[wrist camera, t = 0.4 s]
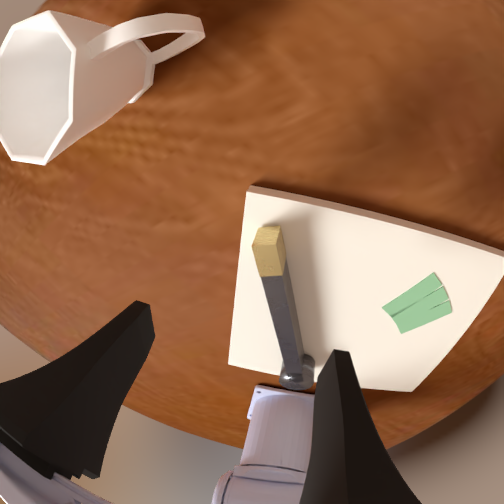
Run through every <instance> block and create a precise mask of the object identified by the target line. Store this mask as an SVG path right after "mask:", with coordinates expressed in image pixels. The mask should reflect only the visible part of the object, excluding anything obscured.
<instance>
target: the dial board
mask: <svg viewBox="0 0 504 504" xmlns="http://www.w3.org/2000/svg"><path fill="white" fill-rule="evenodd" d="M279 225H280V226H281V230H282V235H283V240H284V245H285V250H286V259H287V264H288V269H289V274H290V279H291V284H292V289H293V294H294V300H295V305H296V310H297V316H298V321H299V327H300V332H301V338H302V343H303V349H304V354H307V355H309V356H311V357H312V358H313V359H314V360H315V372H314V382H317V378H318V375H319V374H320V372H321V370H322V368H323V367H324V365H325V363H326V362H327V360H328V358H329V356H330V355H331V353H332V351H333V349H337V350H343V351H349V353H350V355H351V358H352V362H353V365H354V368H355V372H356V375H357V378H358V381H359V384H360V388H368V389H378V390H391V391H406V392H412V391H413V390H414V389H415V388H416V387H417V386H418V385H419V384H420V383H421V382H422V381H423V380H424V379H425V378H426V377H427V376H428V375H429V374H430V373H431V371H432V370H433V369H434V368H435V367H436V366H437V365H438V364H439V363H440V362H441V360H442V359H443V358H444V357H445V356H446V355H447V353H448V352H449V351H450V350H451V349H452V347H453V346H454V345H455V344H456V343H457V341H458V340H459V339H460V338H461V336H462V335H463V334H464V332H465V331H466V330H467V329H468V327H469V326H470V325H471V323H472V322H473V320H474V319H475V318H476V316H477V315H478V314H479V312H480V311H481V309H482V308H483V306H484V305H485V303H486V302H487V301H488V299H489V297H490V296H491V294H492V293H493V291H494V290H495V288H496V287H497V285H498V283H499V282H500V280H501V278H502V277H503V275H504V251H502V250H499V249H496V248H493V247H490V246H488V245H485V244H482V243H479V242H476V241H473V240H470V239H467V238H463V237H460V236H457V235H454V234H451V233H448V232H444V231H441V230H438V229H434V228H431V227H428V226H424V225H421V224H417V223H414V222H410V221H407V220H403V219H399V218H396V217H392V216H388V215H384V214H380V213H377V212H373V211H369V210H365V209H361V208H356V207H352V206H348V205H344V204H340V203H335V202H331V201H326V200H322V199H317V198H313V197H308V196H303V195H299V194H294V193H289V192H284V191H279V190H274V189H268V188H263V187H258V186H252V185H250V186H249V188H248V190H247V192H246V201H245V210H244V219H243V228H242V237H241V246H240V255H239V264H238V273H237V283H236V292H235V302H234V311H233V321H232V331H231V341H230V351H229V361H228V364H229V365H234V366H238V367H242V368H246V369H251V370H255V371H260V372H265V373H270V374H275V375H280V372H281V366H282V360H283V358H282V354H281V351H280V347H279V343H278V339H277V336H276V332H275V328H274V325H273V321H272V317H271V314H270V310H269V306H268V303H267V299H266V295H265V291H264V288H263V284H262V280H261V277H260V276H259V273H258V269H257V265H256V262H255V258H254V254H253V251H252V247H251V246H252V243H253V241H254V238H255V235H256V232H257V230H258V228H260V227H269V226H279Z"/></svg>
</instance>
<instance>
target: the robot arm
mask: <svg viewBox="0 0 504 504" xmlns="http://www.w3.org/2000/svg"><path fill="white" fill-rule="evenodd" d="M154 338H155V332H154V327H153V321H152V316H151V310H150V304H146V303H143V302H140V301H137V300H136V301H135V302H133V303H132V304H131V305H130V306H128V307H127V308H126V309H125V310H123V311H122V312H121V313H120V314H119V315H117V316H116V317H115V318H114V319H112V320H111V321H110V322H109V323H108V324H106V325H105V326H104V327H102V328H101V329H100V330H99V331H97V332H96V333H95V334H93V335H92V336H91V337H89V338H88V339H87V340H85V341H84V342H82V343H81V344H80V345H78V346H77V347H75V348H74V349H72V350H71V351H69V352H68V353H66V354H65V355H63V356H61V357H60V358H58V359H56V360H54V361H53V362H51V363H49V364H47V365H45V366H43V367H41V368H39V369H37V370H35V371H33V372H30V373H28V374H25V375H23V376H21V377H18V378H16V379H13V380H9V381H6V382H3V383H0V497H2V499H3V500H4V501H5V502H6V503H7V504H81V503H82V504H113V503H111V502H109V501H107V500H105V499H103V498H101V497H99V496H97V495H95V494H93V493H91V492H90V491H88V490H86V489H84V488H82V487H81V486H79V485H77V484H75V483H74V482H72V481H70V479H71V477H72V475H73V476H75V477H76V478H78V479H79V478H80V477H81V475H82V474H84V475H85V476H87V477H89V478H91V479H95V478H98V477H100V472H101V467H102V463H103V458H104V455H105V451H106V448H107V444H108V441H109V437H110V435H111V432H112V429H113V426H114V423H115V420H116V418H117V415H118V412H119V410H120V407H121V405H122V403H123V401H124V399H125V397H126V395H127V393H128V391H129V389H130V388H131V386H132V384H133V382H134V380H135V378H136V377H137V375H138V373H139V371H140V369H141V367H142V366H143V364H144V362H145V360H146V358H147V356H148V354H149V351H150V349H151V346H152V344H153V341H154ZM247 418H248V419H251V421H250V425H249V429H248V433H247V437H246V441H245V445H244V449H243V453H242V457H241V461H240V465H235V467H234V471H228V472H227V473H225V474H224V475H222V476H221V478H220V479H219V481H218V483H217V485H216V488H215V491H214V494H213V499H212V504H422V503H421V502H420V501H419V500H418V499H417V497H416V496H415V495H414V493H413V492H412V491H411V489H410V488H409V487H408V485H407V484H406V482H405V481H404V480H403V478H402V476H401V475H400V473H399V471H398V470H397V468H396V466H395V465H394V463H393V462H392V460H391V458H390V456H389V454H388V452H387V451H386V449H385V447H384V445H383V443H382V441H381V439H380V436H379V434H378V432H377V430H376V427H375V425H374V423H373V420H372V418H371V415H370V413H369V410H368V407H367V405H366V402H365V399H364V396H363V393H362V391H361V388H360V384H359V381H358V378H357V375H356V372H355V368H354V365H353V362H352V358H351V355H350V353H349V351H343V350H337V349H333V351H332V353H331V355H330V356H329V358H328V360H327V362H326V363H325V365H324V367H323V368H322V370H321V372H320V374H319V375H318V378H317V384H316V390H315V395H312V394H305V393H299V392H293V391H287V390H282V389H277V388H272V387H267V386H262V385H257V386H256V387H255V390H254V394H253V397H252V401H251V404H250V408H249V411H248V415H247Z"/></svg>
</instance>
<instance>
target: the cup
mask: <svg viewBox="0 0 504 504" xmlns="http://www.w3.org/2000/svg"><path fill="white" fill-rule="evenodd" d="M163 33H185V34H184V35H182V36H181V37H179V38H178V39H176V40H175V41H173V42H172V43H170V44H168V45H166V46H164V47H163V48H161V49H159V50H156V51H154V52H151V51H150V50H149V49H148V47H147V46H146V45H145V44H144V43H143V41H142V40H136V39H139V38H143V37H147V36H152V35H157V34H163ZM204 38H205V33H204V29H203V25H202V22H201V19H200V18H199V17H195V16H192V15H187V14H174V13H163V14H157V15H151V16H145V17H140V18H136V19H133V20H130V21H127V22H124V23H122V24H119V25H117V26H115V27H110V26H107V25H104V24H100V23H97V22H93V21H90V20H86V19H82V18H79V17H76V16H72V15H68V14H64V13H60V12H55V11H50V10H48V11H46V12H43V13H40V14H38V15H35V16H33V17H30V18H28V19H25V20H23V21H21V22H18V23H16V24H14V25H12V27H11V29H10V30H9V32H8V34H7V36H6V38H5V40H4V42H3V44H2V46H1V48H0V141H1V143H2V144H3V146H4V148H5V150H6V151H7V153H8V155H9V156H10V158H11V160H13V161H20V162H27V163H33V164H40V165H46V164H47V163H48V162H49V161H51V160H52V159H53V158H55V157H56V156H57V155H59V154H60V153H61V152H63V151H64V150H65V149H66V148H68V147H69V146H70V145H72V144H73V143H74V142H76V141H77V140H78V139H80V138H81V137H83V136H84V135H86V134H87V133H89V132H90V131H92V130H94V129H95V128H97V127H98V126H100V125H101V124H103V123H105V122H106V121H107V120H108V119H109V118H111V117H112V116H113V115H114V114H116V113H117V112H118V111H119V110H121V109H122V108H123V107H124V106H125V105H126V104H127V103H134V102H135V101H136V100H137V99H138V98H139V97H140V96H141V95H142V94H143V93H144V92H145V91H147V90H148V89H149V88H150V87H151V86H152V85H153V78H154V69H155V64H157V63H160V62H163V61H165V60H167V59H169V58H171V57H173V56H175V55H177V54H179V53H181V52H183V51H185V50H186V49H188V48H190V47H192V46H193V45H195V44H197V43H199V42H200V41H201V40H202V39H204Z"/></svg>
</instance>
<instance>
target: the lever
mask: <svg viewBox="0 0 504 504" xmlns="http://www.w3.org/2000/svg"><path fill="white" fill-rule="evenodd" d="M251 247H252V251H253V254H254V258H255V262H256V265H257V269H258V273H259V276H260V277H261V280H262V284H263V288H264V291H265V295H266V299H267V303H268V306H269V310H270V314H271V317H272V321H273V325H274V328H275V332H276V336H277V339H278V343H279V347H280V351H281V354H282V358H283V360H282V366H281V372H280V378H279V382H280V384H281V385H282V386H283V387H285V388H288V389H291V390H305V389H308V388H310V387H311V386H312V385H313V383H314V372H315V360H314V359H313V358H312V357H311V356H309V355H307V354H304V349H303V343H302V338H301V332H300V327H299V321H298V316H297V310H296V305H295V300H294V294H293V289H292V284H291V279H290V274H289V269H288V264H287V259H286V250H285V245H284V240H283V235H282V230H281V226H280V225H279V226H269V227H260V228H258V230H257V232H256V235H255V238H254V241H253V243H252V246H251Z"/></svg>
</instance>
